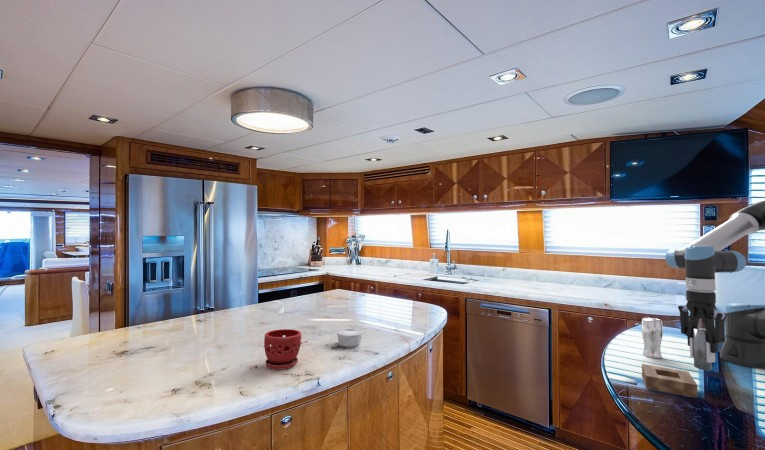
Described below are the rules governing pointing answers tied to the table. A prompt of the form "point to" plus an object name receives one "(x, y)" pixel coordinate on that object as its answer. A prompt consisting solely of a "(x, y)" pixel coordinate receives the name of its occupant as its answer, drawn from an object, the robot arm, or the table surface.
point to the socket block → (669, 380)
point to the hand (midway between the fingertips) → (702, 359)
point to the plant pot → (282, 348)
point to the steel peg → (700, 349)
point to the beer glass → (652, 337)
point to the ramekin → (349, 337)
